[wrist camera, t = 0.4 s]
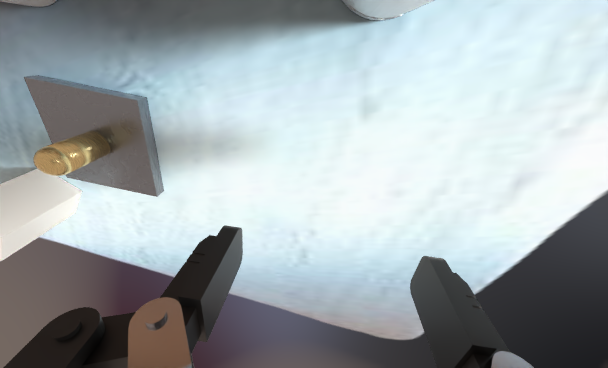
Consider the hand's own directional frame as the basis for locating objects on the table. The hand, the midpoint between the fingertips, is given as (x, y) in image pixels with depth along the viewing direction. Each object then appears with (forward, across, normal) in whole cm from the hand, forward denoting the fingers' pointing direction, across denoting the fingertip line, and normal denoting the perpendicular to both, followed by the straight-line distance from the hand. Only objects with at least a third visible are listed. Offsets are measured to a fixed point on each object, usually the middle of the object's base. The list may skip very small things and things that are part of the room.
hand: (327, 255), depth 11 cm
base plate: (+19, +28, +4) cm, 34 cm away
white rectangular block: (+20, +40, +15) cm, 47 cm away
